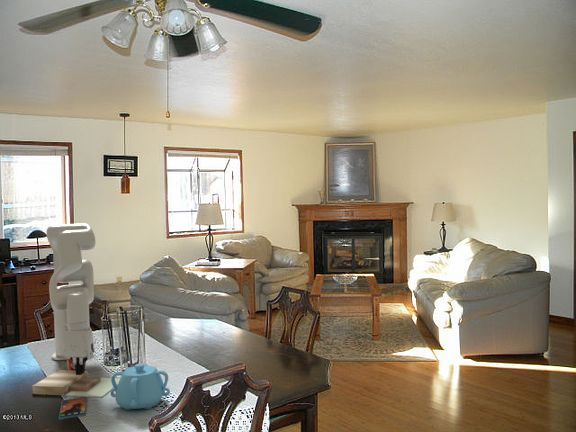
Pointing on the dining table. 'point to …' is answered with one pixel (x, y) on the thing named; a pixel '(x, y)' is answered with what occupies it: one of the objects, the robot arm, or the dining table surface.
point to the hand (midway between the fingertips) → (80, 373)
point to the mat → (96, 389)
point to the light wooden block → (57, 383)
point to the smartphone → (73, 408)
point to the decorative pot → (139, 387)
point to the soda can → (71, 365)
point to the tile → (84, 384)
